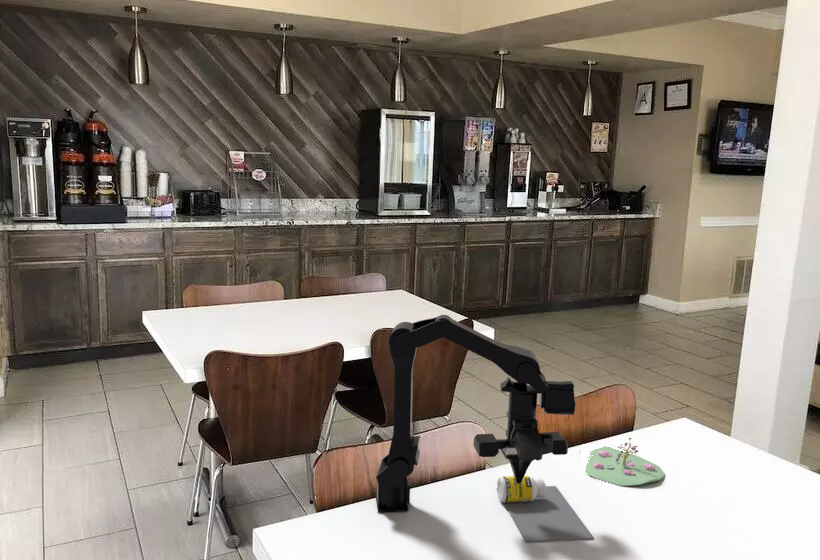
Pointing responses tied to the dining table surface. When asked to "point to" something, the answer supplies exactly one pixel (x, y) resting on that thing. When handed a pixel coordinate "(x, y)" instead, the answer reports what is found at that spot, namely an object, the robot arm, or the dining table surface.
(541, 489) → the supplement bottle
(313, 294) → the dining table surface
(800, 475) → the dining table surface
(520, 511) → the mat
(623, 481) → the plant
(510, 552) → the dining table surface
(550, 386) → the robot arm
